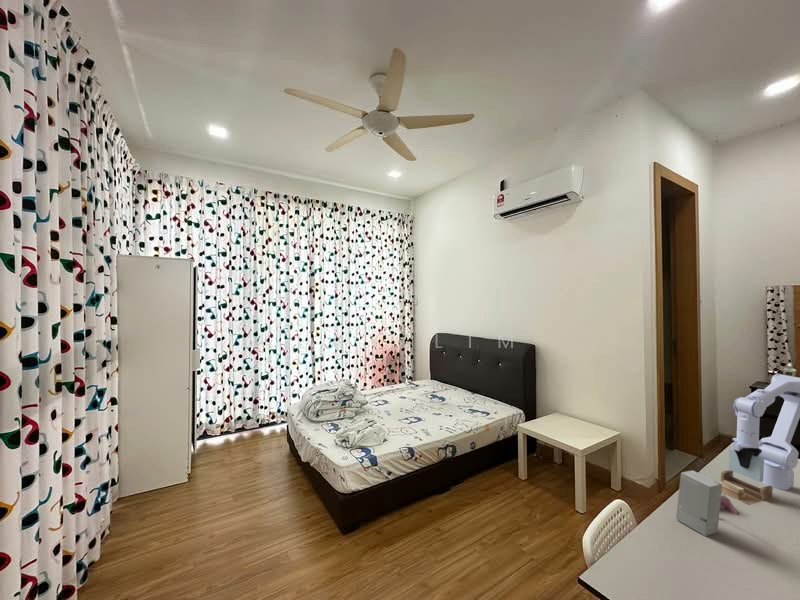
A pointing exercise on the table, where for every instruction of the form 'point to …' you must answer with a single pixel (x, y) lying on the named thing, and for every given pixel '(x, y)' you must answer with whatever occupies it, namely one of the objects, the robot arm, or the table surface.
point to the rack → (748, 489)
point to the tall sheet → (752, 472)
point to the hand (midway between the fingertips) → (746, 466)
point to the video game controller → (727, 504)
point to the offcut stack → (732, 490)
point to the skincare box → (699, 502)
